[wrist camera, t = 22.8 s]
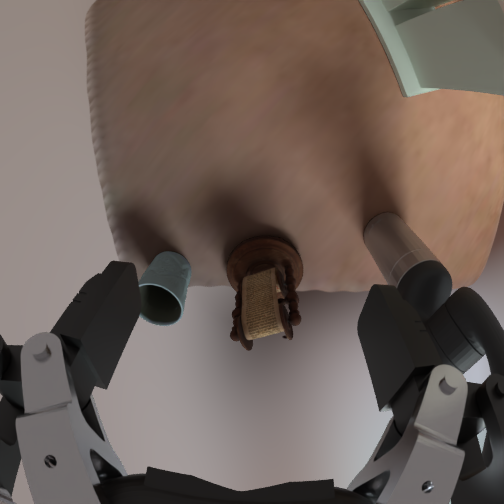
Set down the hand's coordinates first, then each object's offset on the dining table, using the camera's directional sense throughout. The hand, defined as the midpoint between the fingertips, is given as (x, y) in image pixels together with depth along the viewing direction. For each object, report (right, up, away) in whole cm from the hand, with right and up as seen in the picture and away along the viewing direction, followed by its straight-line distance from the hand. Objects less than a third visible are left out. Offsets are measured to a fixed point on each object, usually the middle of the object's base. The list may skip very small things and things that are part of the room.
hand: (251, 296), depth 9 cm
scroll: (+3, -1, +47) cm, 47 cm away
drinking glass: (-17, -2, +49) cm, 51 cm away
